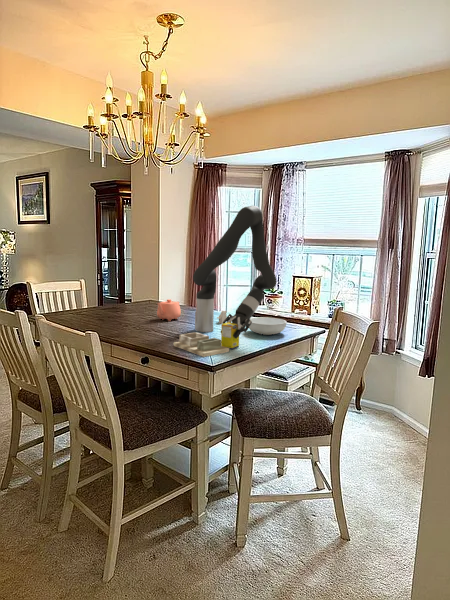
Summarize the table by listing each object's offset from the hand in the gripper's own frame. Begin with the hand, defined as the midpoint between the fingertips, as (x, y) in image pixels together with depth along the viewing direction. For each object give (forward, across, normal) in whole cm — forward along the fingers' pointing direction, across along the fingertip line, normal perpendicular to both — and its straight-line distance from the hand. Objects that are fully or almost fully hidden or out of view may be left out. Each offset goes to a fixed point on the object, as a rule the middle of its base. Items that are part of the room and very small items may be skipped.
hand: (228, 335), depth 186 cm
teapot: (-5, -69, +14) cm, 71 cm away
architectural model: (-20, -44, +29) cm, 56 cm away
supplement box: (+3, 0, +5) cm, 6 cm away
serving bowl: (-22, -11, +30) cm, 38 cm away
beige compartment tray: (+12, -6, -4) cm, 13 cm away
